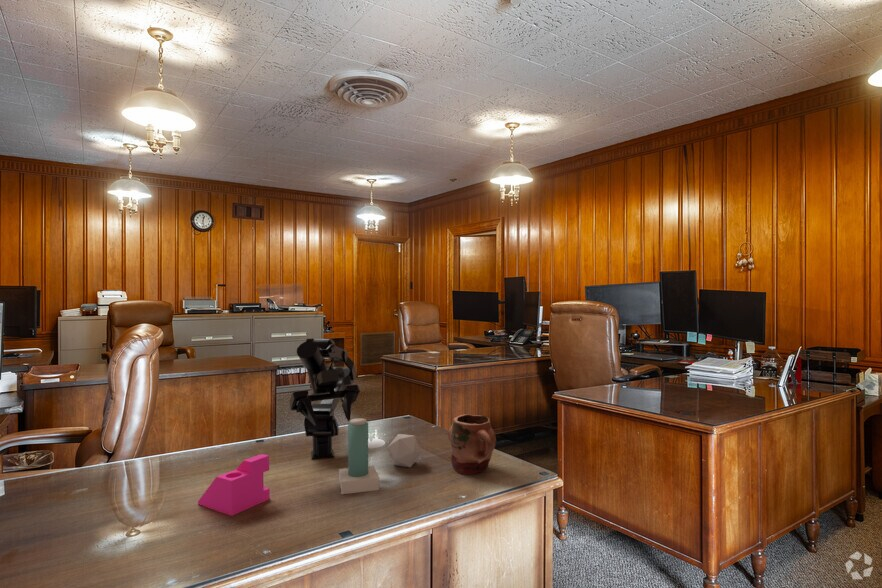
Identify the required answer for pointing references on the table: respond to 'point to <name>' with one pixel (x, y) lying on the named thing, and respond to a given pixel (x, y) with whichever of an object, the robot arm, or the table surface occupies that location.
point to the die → (404, 450)
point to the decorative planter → (471, 443)
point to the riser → (358, 481)
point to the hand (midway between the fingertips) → (333, 422)
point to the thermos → (358, 447)
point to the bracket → (238, 487)
